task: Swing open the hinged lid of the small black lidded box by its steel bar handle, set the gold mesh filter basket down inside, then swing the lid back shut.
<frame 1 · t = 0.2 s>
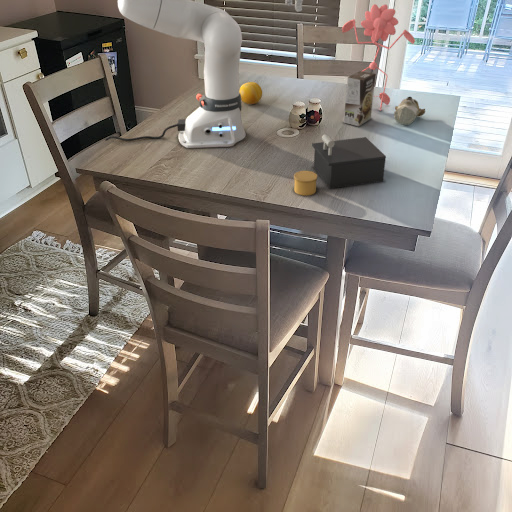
hand: (293, 7, 169), 39 cm above the table, tool pointing down, fingers open, 8 cm apart
ceramic sculpture: (406, 120, 197), on the table
coffee box: (357, 121, 197), on the table
black lidded box: (347, 174, 163), on the table
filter: (305, 190, 155), on the table
fruit: (250, 103, 213), on the table
lid: (348, 143, 157), point 10 cm above the table, hinge at 0.0°
figurine: (371, 103, 211), on the table
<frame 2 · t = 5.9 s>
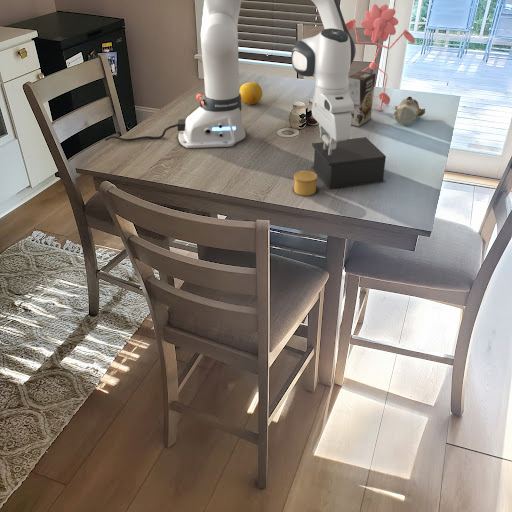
hand: (328, 143, 156), 10 cm above the table, tool pointing down, fingers closed on lid, 5 cm apart
lid: (348, 143, 157), point 10 cm above the table, hinge at 0.1°, touching gripper
everything else where it was.
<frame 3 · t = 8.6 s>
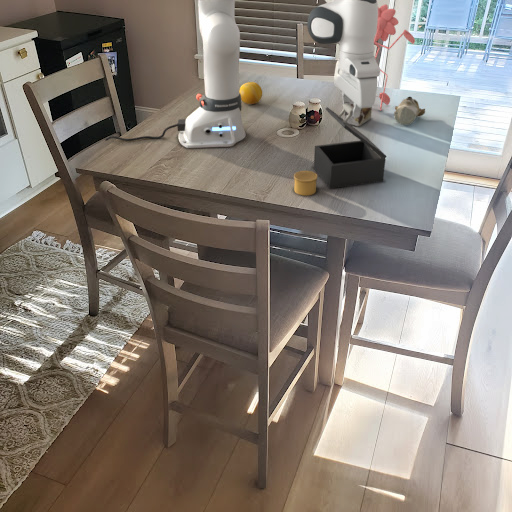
hand: (350, 112, 152), 19 cm above the table, tool pointing down, fingers closed on lid, 5 cm apart
lid: (360, 126, 155), point 14 cm above the table, hinge at 39.0°, touching gripper
everything else where it was.
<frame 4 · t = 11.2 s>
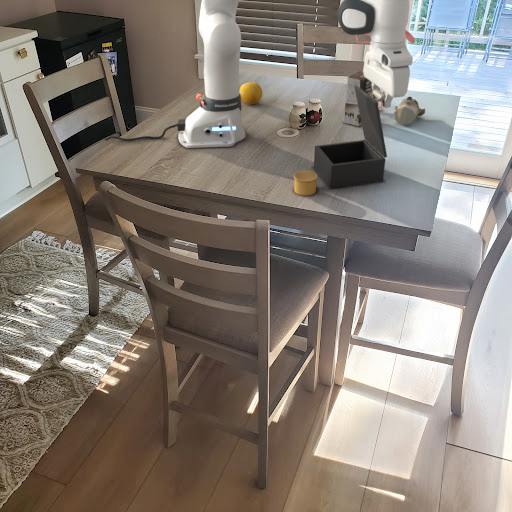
hand: (381, 103, 153), 21 cm above the table, tool pointing down, fingers closed on lid, 5 cm apart
lid: (377, 118, 155), point 16 cm above the table, hinge at 73.4°, touching gripper
everything else where it was.
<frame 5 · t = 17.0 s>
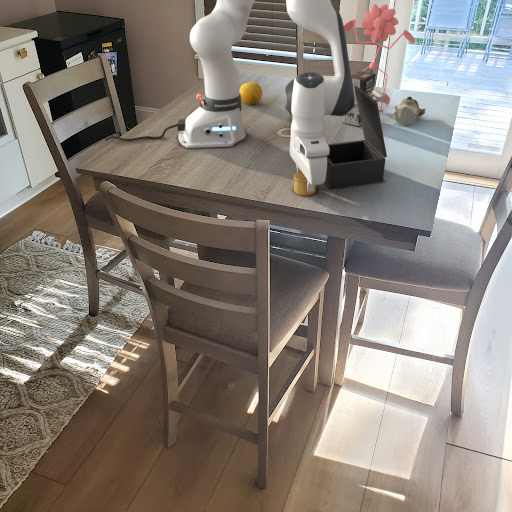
hand: (305, 184, 154), 2 cm above the table, tool pointing down, fingers closed on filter, 6 cm apart
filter: (304, 190, 155), on the table, touching gripper
lid: (377, 118, 155), point 16 cm above the table, hinge at 73.1°
everything else where it was.
when the fingers open (7 cm above the table, at t = 23.3 s): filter moves 2 cm, point 5 cm above the table.
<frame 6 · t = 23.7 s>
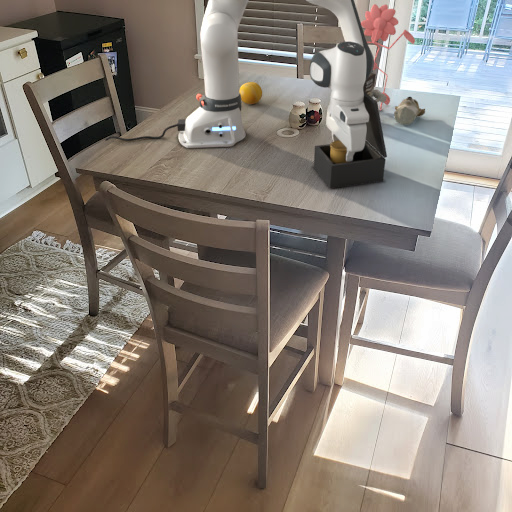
hand: (342, 153, 158), 7 cm above the table, tool pointing down, fingers open, 8 cm apart
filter: (340, 159, 161), point 5 cm above the table, touching gripper
everything else where it was.
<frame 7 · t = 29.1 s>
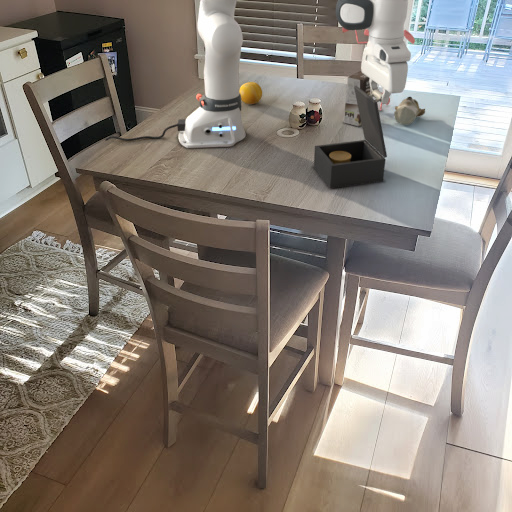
hand: (379, 99, 152), 22 cm above the table, tool pointing down, fingers closed on lid, 5 cm apart
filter: (339, 169, 163), point 1 cm above the table, touching black lidded box
lid: (377, 118, 155), point 16 cm above the table, hinge at 73.0°, touching gripper
everything else where it was.
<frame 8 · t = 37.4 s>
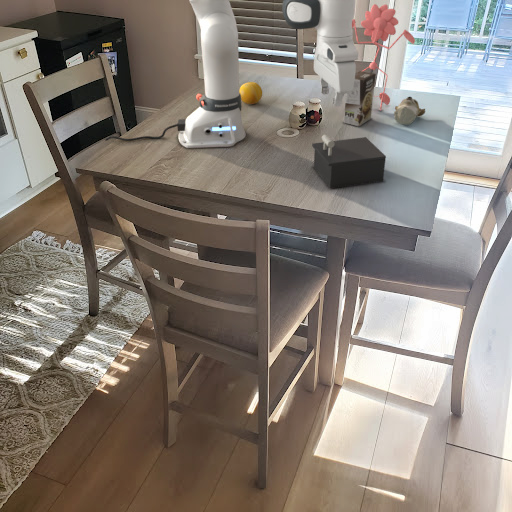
hand: (330, 99, 148), 23 cm above the table, tool pointing down, fingers open, 8 cm apart
lid: (348, 143, 157), point 10 cm above the table, hinge at -0.2°, touching black lidded box
everything else where it was.
at the end: lid reached +75° during the clip, +0° at the end; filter inside the target area in the black lidded box (2.6 cm from its centre), point 1.0 cm above the black lidded box's base; lid at +0° (first picture: +0°) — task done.
